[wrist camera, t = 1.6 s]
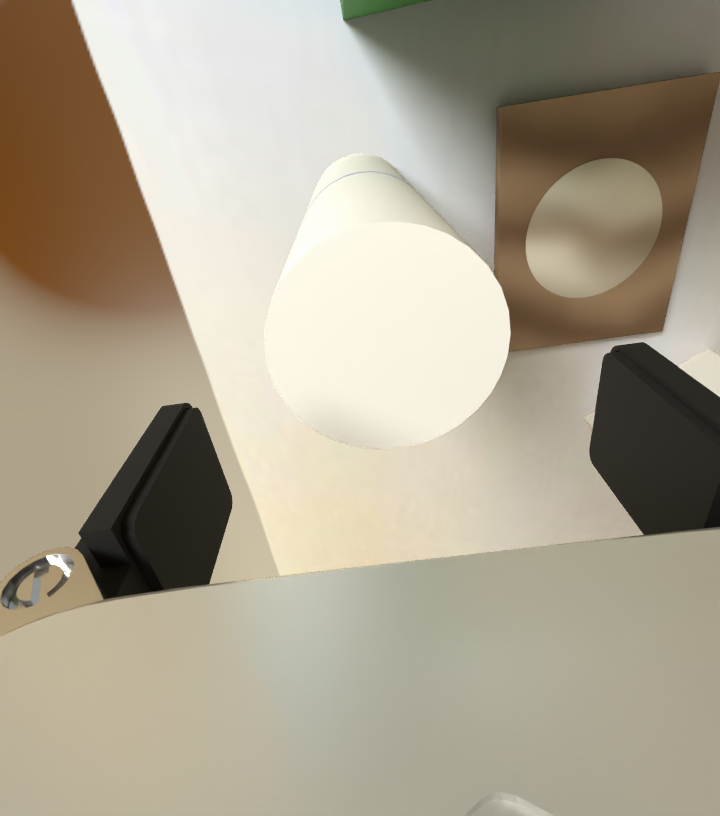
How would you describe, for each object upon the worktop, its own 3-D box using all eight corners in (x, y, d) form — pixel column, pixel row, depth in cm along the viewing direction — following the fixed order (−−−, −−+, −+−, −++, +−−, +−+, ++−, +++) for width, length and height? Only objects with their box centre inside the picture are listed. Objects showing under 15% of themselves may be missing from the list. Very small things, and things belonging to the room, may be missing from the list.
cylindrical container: (420, 167, 33) (553, 258, 12) (394, 265, 37) (460, 465, 16) (323, 141, 32) (283, 189, 11) (305, 244, 36) (250, 428, 15)
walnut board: (497, 107, 32) (502, 106, 30) (708, 73, 31) (722, 71, 30) (492, 347, 41) (496, 353, 40) (654, 325, 40) (663, 331, 39)
